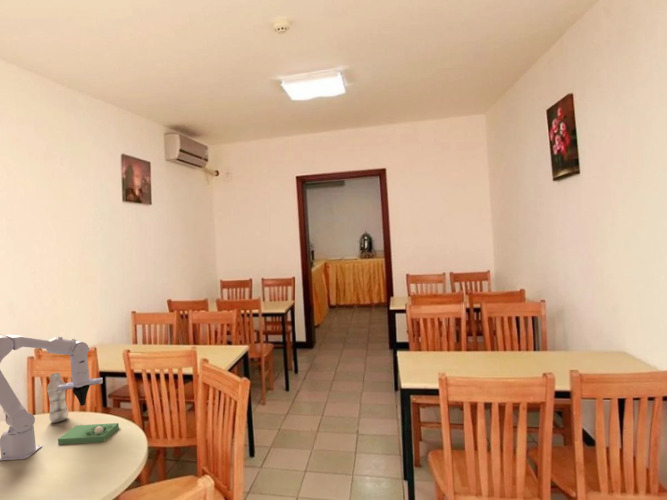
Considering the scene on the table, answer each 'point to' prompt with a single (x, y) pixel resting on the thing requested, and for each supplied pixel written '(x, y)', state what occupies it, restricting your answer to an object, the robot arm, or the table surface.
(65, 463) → the table surface
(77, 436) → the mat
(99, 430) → the ball
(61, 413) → the plastic bottle
